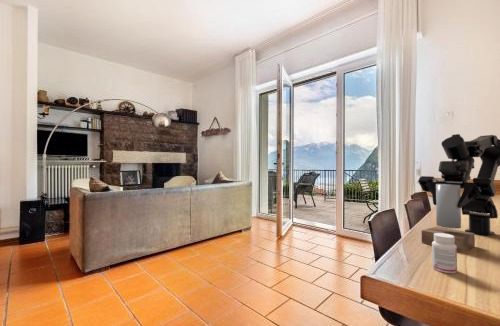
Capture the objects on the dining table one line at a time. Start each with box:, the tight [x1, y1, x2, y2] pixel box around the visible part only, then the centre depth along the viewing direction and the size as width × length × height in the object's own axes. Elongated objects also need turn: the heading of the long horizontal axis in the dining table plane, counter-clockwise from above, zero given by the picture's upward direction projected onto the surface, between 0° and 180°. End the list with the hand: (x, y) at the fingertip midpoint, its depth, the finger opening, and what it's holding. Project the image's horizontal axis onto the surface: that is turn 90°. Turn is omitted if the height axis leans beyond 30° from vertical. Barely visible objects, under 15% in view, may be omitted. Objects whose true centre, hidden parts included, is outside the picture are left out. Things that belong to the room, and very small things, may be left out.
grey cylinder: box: [435, 184, 462, 229], centre depth 76 cm, size 6×6×13 cm
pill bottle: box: [431, 233, 458, 274], centre depth 59 cm, size 5×5×8 cm
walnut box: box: [421, 225, 476, 253], centre depth 77 cm, size 10×10×4 cm
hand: (446, 205), depth 76 cm, fingers closed on grey cylinder, 6 cm apart
